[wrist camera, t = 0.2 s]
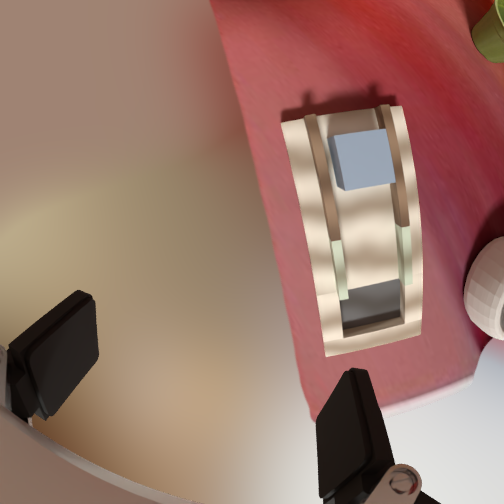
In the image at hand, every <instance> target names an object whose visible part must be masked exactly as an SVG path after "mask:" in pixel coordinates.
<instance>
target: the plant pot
mask: <svg viewBox="0 0 504 504" xmlns="http://www.w3.org/2000/svg"><path fill="white" fill-rule="evenodd" d="M472 39H473V42H474V44H475V46H476V47H477V49H478V50H479V52H480V53H481V54H483V55H484V56H485V58H486V59H487V60H489V61H491V62H493V63H501V62H504V0H495V1H494V4H493V5H492V6H491V9H490V10H489V11H488V12H487V13H486V14H485V15H484V16H483V18H482V19H481V20H480V21H479V22H478V23H477V24H476V25H475V26H474V27H473V29H472Z"/></svg>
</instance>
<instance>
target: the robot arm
mask: <svg viewBox="0 0 504 504" xmlns="http://www.w3.org/2000/svg"><path fill="white" fill-rule="evenodd" d="M95 307H96V306H95V301H94V300H93V298H92V296H91V295H90V294H88V293H85V292H83V291H81V290H77V291H75V292H74V293H72V294H71V295H70V296H68V297H67V298H66V299H64V300H63V301H62V302H61V303H59V304H58V305H57V306H55V307H54V308H53V309H51V310H50V311H49V312H48V313H47V314H45V315H44V316H43V317H41V318H40V319H39V320H38V321H36V322H35V323H34V324H33V325H31V326H30V327H29V328H28V329H27V330H25V331H24V332H23V333H22V334H21V335H19V336H18V337H17V338H16V339H15V340H13V341H12V342H11V343H10V344H9V349H8V350H7V351H6V350H5V348H4V347H3V346H2V345H0V504H202V503H198V502H194V501H190V500H187V499H183V498H179V497H176V496H173V495H170V494H167V493H164V492H160V491H158V490H155V489H152V488H149V487H147V486H144V485H141V484H139V483H136V482H133V481H131V480H129V479H126V478H124V477H121V476H119V475H117V474H115V473H113V472H110V471H108V470H106V469H103V468H101V467H100V466H98V465H96V464H94V463H92V462H90V461H88V460H86V459H84V458H82V457H80V456H78V455H77V454H75V453H73V452H71V451H69V450H68V449H66V448H64V447H63V446H61V445H59V444H57V443H56V442H54V441H53V440H51V439H50V438H48V437H47V436H45V435H43V434H42V433H40V432H39V431H37V430H36V429H34V428H33V427H32V416H33V414H34V413H35V414H36V415H38V416H39V417H41V418H42V419H43V420H45V421H46V420H47V418H48V417H49V416H53V415H54V414H55V413H56V412H57V411H58V409H59V408H60V406H61V405H62V404H63V403H64V402H65V400H66V399H67V398H68V396H69V395H70V394H71V393H72V391H73V390H74V389H75V387H76V386H77V385H78V384H79V383H80V381H81V380H82V379H83V377H84V376H85V375H86V374H87V373H88V371H89V370H90V369H91V367H92V366H93V365H94V364H95V363H96V361H97V360H98V357H99V350H98V338H97V325H96V308H95ZM316 437H317V438H316V439H317V457H318V480H319V497H320V498H323V504H441V503H439V502H437V501H436V500H434V499H433V498H431V497H430V496H428V495H427V494H425V493H424V492H422V491H421V486H422V480H421V477H420V475H419V473H418V472H417V471H416V470H415V469H414V468H413V467H411V466H409V465H406V464H397V465H395V462H394V458H393V454H392V450H391V446H390V443H389V438H388V435H387V431H386V427H385V424H384V420H383V417H382V413H381V410H380V408H379V406H378V403H377V400H376V396H375V393H374V390H373V386H372V383H371V380H370V377H369V374H368V371H367V370H365V369H358V368H351V369H350V370H349V371H345V372H344V373H343V375H342V377H341V379H340V380H339V382H338V384H337V385H336V387H335V389H334V391H333V392H332V394H331V396H330V397H329V399H328V400H327V402H326V404H325V405H324V407H323V409H322V410H321V412H320V413H319V415H318V417H317V419H316Z"/></svg>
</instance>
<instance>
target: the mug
mask: <svg viewBox="0 0 504 504" xmlns="http://www.w3.org/2000/svg"><path fill="white" fill-rule="evenodd" d="M464 304H465V308H466V311H467V313H468V315H469V317H470V319H471V321H473V322H474V323H475V324H476V325H477V326H478V327H479V328H480V329H482V330H483V331H484V332H485V333H487V334H488V335H490V336H492V337H494V338H496V339H500V340H504V236H503V237H499V238H496V239H494V240H493V241H491V242H490V243H488V244H487V245H486V246H485V247H484V248H483V249H482V251H481V252H480V253H479V254H478V256H477V257H476V259H475V261H474V262H473V264H472V266H471V269H470V271H469V273H468V276H467V280H466V283H465V288H464Z"/></svg>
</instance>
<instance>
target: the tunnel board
mask: <svg viewBox="0 0 504 504" xmlns="http://www.w3.org/2000/svg"><path fill="white" fill-rule="evenodd" d="M281 127H282V131H283V135H284V139H285V144H286V148H287V152H288V156H289V160H290V164H291V169H292V173H293V178H294V182H295V187H296V191H297V196H298V200H299V205H300V210H301V215H302V220H303V225H304V230H305V235H306V240H307V245H308V250H309V256H310V261H311V267H312V272H313V278H314V284H315V290H316V296H317V302H318V309H319V315H320V322H321V328H322V335H323V342H324V349H325V355H326V357H328V356H333V355H339V354H344V353H348V352H353V351H358V350H362V349H367V348H371V347H375V346H379V345H383V344H387V343H391V342H395V341H399V340H403V339H406V338H410V337H413V336H417V335H420V334H421V320H422V298H423V256H422V234H421V220H420V209H419V199H418V191H417V183H416V176H415V169H414V163H413V157H412V151H411V146H410V141H409V136H408V131H407V127H406V122H405V118H404V114H403V110H402V106H393V107H390V105H389V104H387V105H380V106H378V107H376V108H372V109H363V110H355V111H347V112H340V113H333V114H327V115H321V116H316V114H311V115H305V116H304V118H303V119H298V120H293V121H288V122H283V123H281ZM378 129H386V132H387V137H388V141H389V146H390V151H391V157H392V162H393V168H394V174H395V180H396V183H389V184H383V185H377V186H372V187H366V188H360V189H355V190H349V191H344V190H342V189H341V188H339V187H337V184H336V179H335V174H334V169H333V164H332V160H331V155H330V151H329V146H328V142H327V139H328V138H330V137H332V136H336V135H342V134H349V133H355V132H363V131H370V130H378Z"/></svg>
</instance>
